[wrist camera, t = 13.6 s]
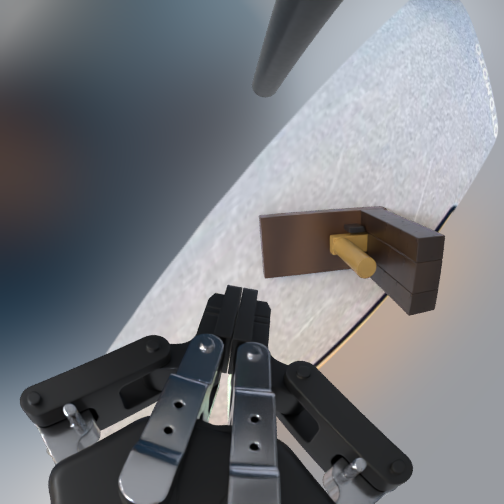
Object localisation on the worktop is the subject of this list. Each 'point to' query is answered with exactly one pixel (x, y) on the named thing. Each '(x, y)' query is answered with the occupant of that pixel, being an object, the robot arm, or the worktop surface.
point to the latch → (378, 247)
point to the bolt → (353, 252)
